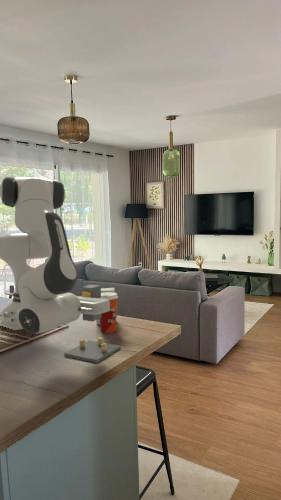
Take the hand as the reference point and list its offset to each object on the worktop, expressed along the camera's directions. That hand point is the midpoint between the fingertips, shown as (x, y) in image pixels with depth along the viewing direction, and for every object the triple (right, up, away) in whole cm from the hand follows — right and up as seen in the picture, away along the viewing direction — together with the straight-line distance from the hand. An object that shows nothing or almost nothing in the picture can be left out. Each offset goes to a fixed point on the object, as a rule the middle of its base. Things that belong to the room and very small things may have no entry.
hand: (93, 299), depth 122 cm
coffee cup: (+3, -16, +24) cm, 29 cm away
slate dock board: (0, -18, +1) cm, 18 cm away
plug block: (0, -7, 0) cm, 7 cm away
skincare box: (+1, -15, +35) cm, 38 cm away
